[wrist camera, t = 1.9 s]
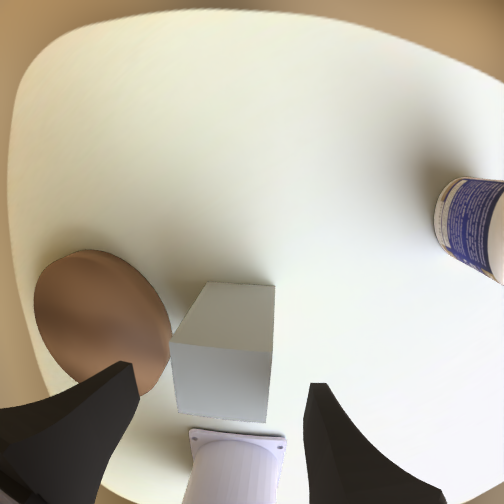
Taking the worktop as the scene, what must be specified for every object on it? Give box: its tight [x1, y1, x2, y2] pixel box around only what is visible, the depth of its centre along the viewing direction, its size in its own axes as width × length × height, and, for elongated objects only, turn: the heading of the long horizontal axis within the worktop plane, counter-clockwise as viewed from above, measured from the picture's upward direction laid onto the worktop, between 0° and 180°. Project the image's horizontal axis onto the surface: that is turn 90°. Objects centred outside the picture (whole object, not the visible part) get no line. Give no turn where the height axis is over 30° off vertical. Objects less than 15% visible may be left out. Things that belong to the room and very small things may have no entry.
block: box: [169, 281, 275, 423], centre depth 15 cm, size 4×4×7 cm
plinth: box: [34, 250, 172, 396], centre depth 18 cm, size 11×11×2 cm
